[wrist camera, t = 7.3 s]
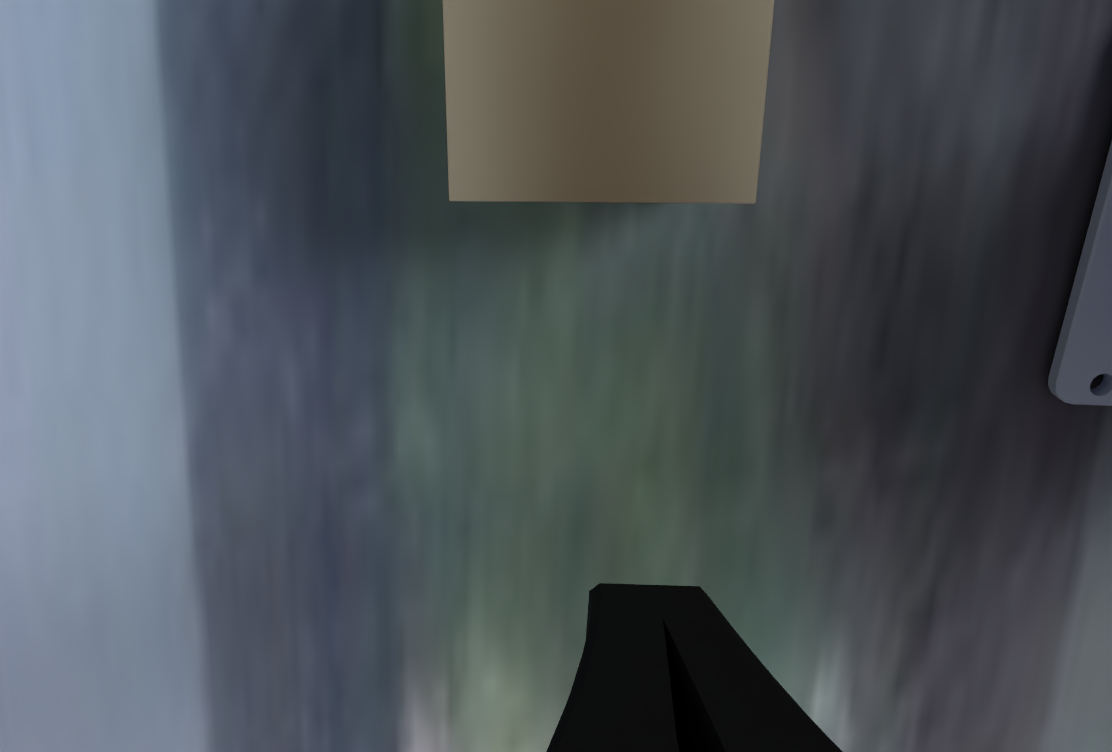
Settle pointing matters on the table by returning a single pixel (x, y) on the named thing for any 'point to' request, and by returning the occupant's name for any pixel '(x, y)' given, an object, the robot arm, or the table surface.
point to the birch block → (605, 99)
